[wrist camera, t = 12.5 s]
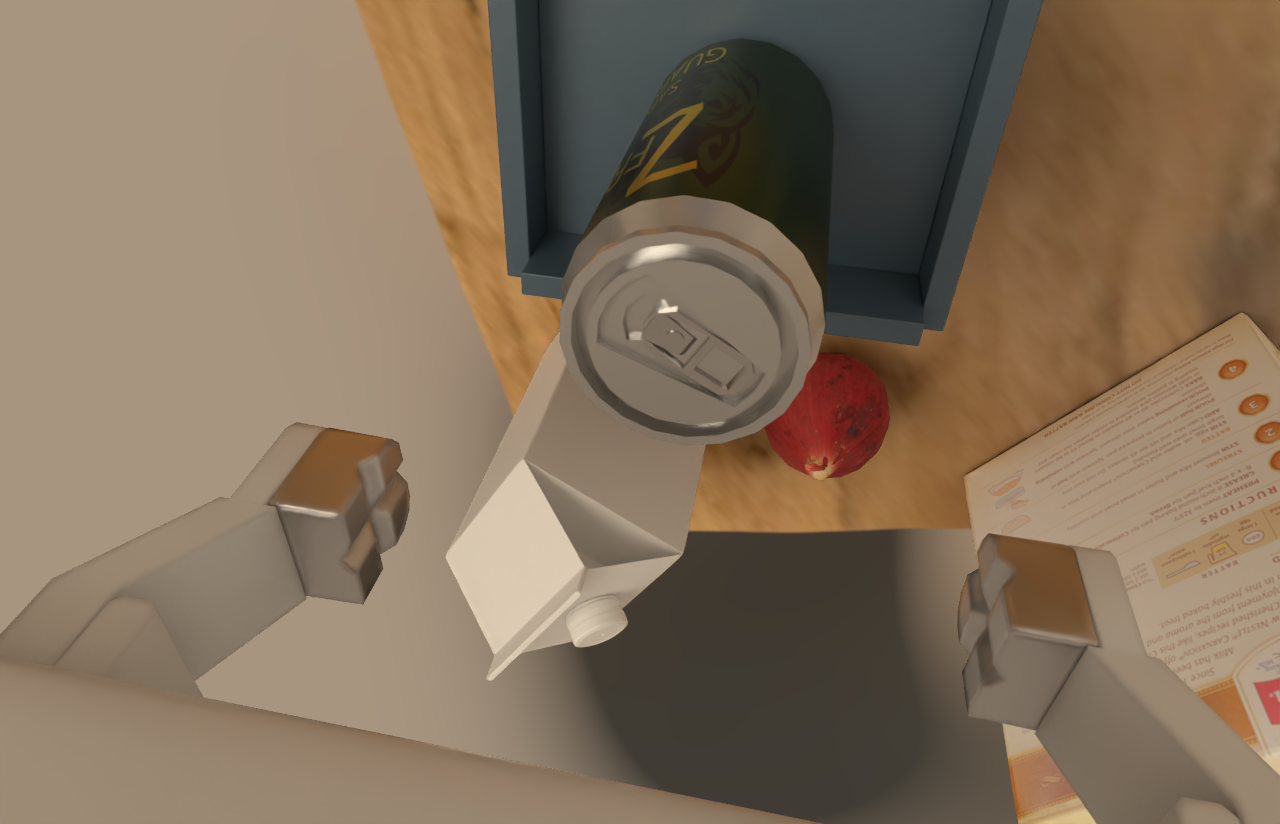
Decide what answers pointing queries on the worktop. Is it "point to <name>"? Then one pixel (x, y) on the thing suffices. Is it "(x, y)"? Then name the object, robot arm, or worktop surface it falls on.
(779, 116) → the green drink can
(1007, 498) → the coffeecake box
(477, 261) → the worktop surface
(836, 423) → the onion
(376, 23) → the worktop surface
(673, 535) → the milk carton
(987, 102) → the rack
